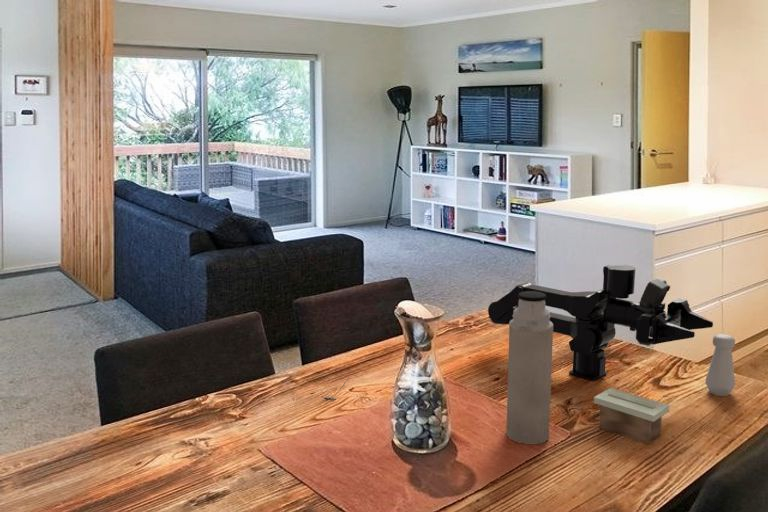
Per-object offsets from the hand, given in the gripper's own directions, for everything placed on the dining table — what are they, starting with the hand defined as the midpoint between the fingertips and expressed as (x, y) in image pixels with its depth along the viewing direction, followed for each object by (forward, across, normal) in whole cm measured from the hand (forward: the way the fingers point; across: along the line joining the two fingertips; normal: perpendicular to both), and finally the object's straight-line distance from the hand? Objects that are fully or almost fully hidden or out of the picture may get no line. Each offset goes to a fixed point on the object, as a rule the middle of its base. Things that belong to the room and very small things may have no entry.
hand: (703, 329), depth 141 cm
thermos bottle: (-17, -36, +17) cm, 43 cm away
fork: (-60, -47, +17) cm, 78 cm away
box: (-4, -21, +17) cm, 27 cm away
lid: (-4, -21, +12) cm, 24 cm away
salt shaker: (+1, +10, +17) cm, 20 cm away
